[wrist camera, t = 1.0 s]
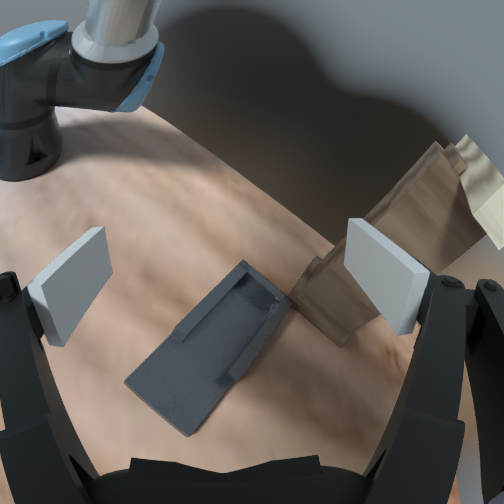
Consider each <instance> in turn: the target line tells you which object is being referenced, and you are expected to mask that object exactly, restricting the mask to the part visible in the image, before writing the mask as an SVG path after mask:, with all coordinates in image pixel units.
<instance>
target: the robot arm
mask: <svg viewBox="0 0 504 504" xmlns="http://www.w3.org/2000/svg"><path fill="white" fill-rule="evenodd" d="M160 2H161V0H89V4H88V9H87V15H86V20H85V21H83V22H82V23H81V24H79V26H77V28H76V29H75V30H74V32H67V30H68V23H67V22H66V21H60V20H50V21H43V22H38V23H33V24H30V25H26V26H23V27H20V28H17V29H15V30H12V31H10V32H8V33H7V34H5V35H3V36H2V37H1V38H0V179H2V180H6V181H19V180H25V179H29V178H32V177H34V176H37V175H39V174H41V173H43V172H44V171H46V170H47V169H49V168H50V167H51V166H52V165H53V164H54V163H55V162H56V161H57V160H58V158H59V156H60V154H61V151H62V134H61V131H60V127H59V124H58V121H57V117H56V114H55V106H58V107H71V108H82V109H91V110H100V111H107V112H111V113H113V112H133V111H135V110H137V109H138V108H139V107H140V106H141V105H142V103H143V102H144V100H145V98H146V96H147V94H148V92H149V90H150V88H151V86H152V83H153V79H154V77H155V75H156V73H157V71H158V69H159V66H160V63H161V60H162V57H163V53H164V45H163V44H162V43H160V42H159V41H158V31H157V29H156V27H155V25H154V24H153V20H154V17H155V15H156V12H157V9H158V7H159V5H160ZM344 266H345V267H346V269H347V270H348V271H349V272H350V274H351V275H352V276H353V278H354V279H355V280H356V281H357V283H358V284H359V285H360V287H361V288H362V289H363V291H364V292H365V293H366V294H367V296H368V297H369V298H370V300H371V301H372V302H373V304H374V305H375V306H376V308H377V309H378V310H379V312H380V313H381V315H382V316H383V317H384V319H385V320H386V321H387V323H388V324H389V325H390V327H391V328H392V330H393V331H394V332H395V334H396V335H397V336H399V335H405V334H410V333H412V332H413V329H414V326H415V323H416V320H417V321H418V322H419V324H420V325H421V328H420V331H419V334H418V337H417V339H416V342H415V345H414V352H413V355H412V358H411V362H410V365H409V368H408V371H407V374H406V377H405V380H404V383H403V386H402V389H401V391H400V394H399V397H398V400H397V402H396V405H395V407H394V410H393V412H392V415H391V417H390V420H389V422H388V425H387V427H386V429H385V432H384V434H383V436H382V438H381V441H380V443H379V445H378V447H377V449H376V451H375V453H374V455H373V457H372V459H371V461H370V463H369V465H368V467H367V469H366V470H365V472H364V474H363V475H360V474H358V473H355V472H352V471H349V470H346V469H342V468H337V467H330V466H321V465H320V461H319V457H318V455H313V456H306V457H299V458H292V459H283V460H273V461H269V462H266V463H263V464H259V465H256V466H252V467H248V468H245V469H241V470H237V471H233V472H229V473H217V472H212V471H208V470H203V469H199V468H195V467H191V466H187V465H184V464H180V463H177V462H168V461H157V460H147V459H139V458H131V462H130V468H129V469H124V470H119V471H114V472H111V473H107V474H105V475H102V476H100V475H99V474H98V473H97V471H96V470H95V468H94V466H93V464H92V463H91V461H90V459H89V457H88V455H87V453H86V451H85V450H84V448H83V446H82V444H81V442H80V440H79V438H78V435H77V433H76V431H75V429H74V427H73V425H72V423H71V420H70V418H69V416H68V414H67V411H66V409H65V406H64V404H63V401H62V399H61V396H60V394H59V391H58V389H57V386H56V383H55V380H54V378H53V375H52V372H51V369H50V366H49V363H48V360H47V356H46V353H45V350H44V346H43V344H42V342H41V340H40V339H41V337H42V336H43V334H45V336H46V338H47V341H48V343H49V345H52V346H60V347H64V346H65V344H66V342H67V341H68V339H69V337H70V336H71V334H72V333H73V331H74V329H75V328H76V326H77V325H78V323H79V322H80V320H81V319H82V317H83V315H84V314H85V312H86V311H87V309H88V308H89V306H90V305H91V303H92V302H93V301H94V299H95V298H96V296H97V295H98V293H99V292H100V290H101V289H102V287H103V286H104V285H105V283H106V282H107V280H108V279H109V278H110V276H111V275H112V273H113V271H112V266H111V261H110V256H109V251H108V245H107V239H106V234H105V227H92V228H91V229H90V230H88V231H87V232H86V233H85V234H84V235H82V236H81V237H80V238H79V239H78V240H76V241H75V242H74V243H73V244H72V245H70V246H69V247H68V248H67V249H66V250H65V251H63V252H62V253H61V254H60V255H59V256H58V257H57V258H56V259H54V260H53V261H52V262H51V263H50V264H49V265H48V266H47V267H46V268H44V269H43V270H42V271H41V272H40V273H39V274H38V275H37V276H36V277H35V278H34V279H33V280H32V281H31V282H30V283H29V284H28V285H27V286H26V287H25V288H24V289H23V290H22V291H21V288H20V285H19V282H18V279H17V276H16V273H15V272H12V271H10V272H5V273H2V274H0V400H1V407H2V413H3V418H4V424H5V430H2V431H0V454H1V459H2V463H3V466H4V470H5V474H6V477H7V481H8V484H9V487H10V490H11V493H12V496H13V499H14V502H15V504H447V502H448V499H449V495H450V492H451V489H452V485H453V482H454V478H455V474H456V470H457V466H458V461H459V457H460V453H461V448H462V443H463V438H464V432H465V423H464V422H463V421H461V420H457V418H458V412H459V405H460V398H461V390H462V381H463V371H464V370H463V369H464V359H465V363H466V367H467V372H468V377H469V381H470V386H471V392H472V397H473V403H474V409H475V416H476V421H477V422H476V423H477V431H478V439H479V451H480V466H481V483H482V494H483V501H484V504H504V289H503V288H502V287H501V286H500V285H499V284H497V283H496V282H495V281H493V280H488V279H480V280H479V281H478V282H477V286H476V289H475V290H470V289H465V286H464V284H463V283H462V282H461V281H460V280H458V279H456V278H454V277H451V276H445V275H443V276H441V275H440V276H437V275H436V274H435V273H433V272H432V271H431V270H430V269H429V268H427V267H426V266H425V265H424V264H423V263H421V262H420V261H419V260H418V259H416V258H415V257H413V256H411V255H409V254H408V253H406V252H405V251H404V250H403V249H401V248H400V247H399V246H397V245H396V244H395V243H394V242H392V241H391V240H390V239H388V238H387V237H386V236H385V235H383V234H382V233H381V232H379V231H378V230H377V229H375V228H374V227H373V226H371V225H370V224H369V223H367V222H366V221H364V220H363V219H362V218H349V221H348V231H347V240H346V249H345V258H344Z"/></svg>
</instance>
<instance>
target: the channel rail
mask: <svg viewBox="0 0 504 504" xmlns="http://www.w3.org/2000/svg"><path fill="white" fill-rule="evenodd" d="M292 304H293V302H292V301H290V300H289V299H288V298H287V297H286V296H285V295H284V294H282V293H281V292H280V291H279V290H278V289H277V288H275V287H274V286H273V285H272V284H271V283H270V282H269V281H267V280H266V279H265V278H264V277H263V276H262V275H261V274H259V273H258V272H257V271H256V270H255V269H254V268H252V267H251V266H250V265H249V264H248V263H247V262H246V261H244V260H242V261H241V262H240V263H239V264H238V265H237V266H236V267H235V268H234V269H233V270H232V271H231V272H230V273H229V274H228V275H227V276H226V277H225V278H224V279H223V280H222V281H221V282H220V283H219V284H218V285H217V286H216V287H215V288H214V289H213V290H212V291H211V292H210V293H209V294H208V295H207V296H206V297H205V298H204V299H203V300H202V301H201V302H200V303H199V304H198V305H197V306H196V307H195V308H194V309H193V310H192V311H191V312H190V313H189V314H188V315H187V316H186V317H185V318H184V319H183V320H182V321H181V322H180V323H179V324H178V325H177V326H175V328H174V330H173V332H172V333H171V335H170V336H169V337H168V338H167V339H166V340H165V341H164V342H163V343H162V344H161V345H160V346H159V347H158V348H157V349H156V350H155V351H154V352H153V353H152V354H151V355H150V356H149V357H148V358H147V359H146V360H145V361H144V362H143V363H142V364H141V365H140V366H139V367H138V368H137V369H136V370H135V371H134V372H133V373H132V374H131V375H130V376H129V377H128V378H127V379H126V380H125V381H124V384H125V385H126V386H127V387H128V388H129V389H130V390H131V391H133V392H134V393H135V394H136V395H137V396H138V397H139V398H140V399H141V400H142V401H143V402H145V403H146V404H147V405H148V406H149V407H150V408H151V409H153V410H154V411H155V412H156V413H157V414H158V415H160V416H161V417H162V418H163V419H164V420H166V421H167V422H168V423H169V424H170V425H172V426H173V427H174V428H175V429H177V430H178V431H179V432H181V433H182V434H183V435H184V436H186V437H190V435H191V434H192V433H193V432H194V430H195V429H196V428H197V427H198V425H199V424H200V423H201V422H202V421H203V419H204V418H205V417H206V415H207V414H208V413H209V412H210V410H211V409H212V408H213V407H214V405H215V404H216V403H217V402H218V400H219V399H220V398H221V396H222V395H223V394H224V392H225V391H226V390H227V389H228V387H229V386H230V385H232V384H233V383H235V382H237V381H239V379H240V378H241V377H242V375H243V374H244V373H245V371H246V370H247V369H248V367H249V366H250V364H251V363H252V362H253V360H254V359H255V357H256V356H257V355H258V353H259V352H260V350H261V349H262V348H263V346H264V345H265V343H266V342H267V341H268V339H269V338H270V336H271V335H272V333H273V332H274V331H275V329H276V328H277V326H278V325H279V323H280V322H281V320H282V319H283V317H284V316H285V314H286V313H287V312H288V310H289V309H290V307H291V306H292Z"/></svg>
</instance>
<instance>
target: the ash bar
mask: <svg viewBox="0 0 504 504" xmlns="http://www.w3.org/2000/svg"><path fill="white" fill-rule="evenodd" d="M455 147H456V148H457V150H458V152H459V153H460V155H461V157H462V159H463V161H464V162H465V164H466V166H467V167H466V168H465V169H464V170H463V171H462V172H461V173H460V174H459V178H460V180H461V183H462V186H463V188H464V191H465V194H466V197H467V200H468V203H469V206H470V209H471V212H472V215H473V216H474V217H475V219H476V220H477V221H478V222H479V224H480V225H481V226H482V228H483V229H484V230H485V231H486V233H487V234H488V235H489V237H490V238H491V239H492V241H493V242H494V244H495V245H496V246H497V248H498V249H499V250H500V249H501V248H502V247H503V246H504V178H503V176H502V175H501V174H500V173H499V171H498V170H497V169H496V167H495V166H494V165H493V164H492V163H491V161H490V160H489V159H488V158H487V157H486V155H485V154H484V153H483V152H482V151H481V150H480V149H479V148H478V146H477V145H476V144H475V143H474V142H473V141H472V140H471V139H470V138H469V137H468V136H467V135H465V136H464V137H463V138H462V140H461V141H460V142H459V143H458V144H457V145H456V146H455Z"/></svg>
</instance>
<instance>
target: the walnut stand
mask: <svg viewBox="0 0 504 504" xmlns="http://www.w3.org/2000/svg"><path fill="white" fill-rule="evenodd" d="M466 167H467V166H466V164H465V162H464V161H463V159H462V157H461V155H460V153H459V152H458V150H457V148H456V147H455V146H454V145H453V144H452V143H450V145H449V146H447V148H446V149H445V150H444V149H443V148H442V147H441V146H440V145H439V144H438V143H437V142H436V141H435V142H434V143H433V144H432V145H431V147H430V148H429V149H428V150H427V151H426V152H425V153H424V154H423V156H422V157H421V158H420V159H419V160H418V161H417V162H416V163H415V164H414V166H413V167H412V168H411V169H410V170H409V171H408V172H407V173H406V174H405V175H404V176H403V178H402V179H401V180H400V181H399V182H398V183H397V184H396V185H395V186H394V187H393V188H392V189H391V190H390V191H389V192H388V193H387V195H386V196H385V197H384V198H383V199H382V200H381V201H380V202H379V203H378V204H377V205H376V206H375V207H374V208H373V209H372V210H371V211H370V212H369V213H368V214H367V216H365V217H364V218H363V220H364V221H366V222H367V223H369V224H370V225H371V226H373V227H374V228H375V229H377V230H378V231H379V232H381V233H382V234H383V235H385V236H386V237H387V238H388V239H390V240H391V241H392V242H394V243H395V244H396V245H397V246H399V247H400V248H401V249H403V250H404V251H405V252H406V253H408V254H409V255H411V256H413V257H415V258H416V259H418V260H419V261H420V262H421V263H423V264H424V265H425V266H426V267H427V268H429V269H430V270H431V271H432V272H433V273H435V274H436V275H437V274H438V273H440V272H441V271H442V270H443V269H445V268H446V267H447V266H449V265H450V264H451V263H452V262H454V261H455V260H456V259H457V258H459V257H460V256H461V255H462V254H464V253H465V252H466V251H467V250H468V249H470V248H471V247H472V246H473V245H474V244H475V243H477V242H478V241H479V240H480V239H481V238H482V237H484V236H485V235H486V234H487V233H486V231H485V230H484V229H483V228H482V226H481V225H480V224H479V222H478V221H477V220H476V219H475V217H474V216H473V215H472V212H471V209H470V206H469V203H468V200H467V197H466V194H465V191H464V188H463V186H462V183H461V180H460V178H459V174H460V173H461V172H462V171H463V170H464V169H465V168H466ZM346 240H347V235H346V236H345V237H344V239H343V240H341V241H340V242H339V243H338V244H337V245H336V246H335V247H334V248H333V249H332V250H331V251H330V252H329V253H328V254H327V255H326V256H325V257H324V258H323V259H321V258H319V257H318V256H316V257H315V258H314V259H313V260H312V262H311V263H310V265H309V266H308V268H307V269H306V271H305V272H304V274H303V275H302V276H301V278H300V279H299V281H298V282H297V284H296V285H295V287H294V288H293V289H292V291H291V292H290V294H289V295H288V297H287V298H288V299H289V300H290V301H292V302H293V304H292V307H294V308H295V309H296V310H297V311H298V312H299V313H301V314H302V315H303V316H304V317H305V318H306V319H308V320H309V321H310V322H311V323H312V324H313V325H315V326H316V327H317V328H318V329H319V330H320V331H322V332H323V333H324V334H325V335H326V336H327V337H329V338H330V339H331V340H332V341H333V342H335V343H336V344H337V345H338V346H339V347H340V348H342V347H343V346H345V345H346V343H347V341H348V339H349V336H350V334H351V332H353V331H354V330H356V329H357V328H359V327H361V326H362V325H364V324H366V323H367V322H369V321H370V320H372V319H373V318H375V317H377V316H378V315H380V314H381V313H380V312H379V310H378V309H377V308H376V306H375V305H374V304H373V302H372V301H371V300H370V298H369V297H368V296H367V294H366V293H365V292H364V291H363V289H362V288H361V287H360V285H359V284H358V283H357V281H356V280H355V279H354V278H353V276H352V275H351V274H350V272H349V271H348V270H347V269H346V267H345V266H344V258H345V249H346Z"/></svg>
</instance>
